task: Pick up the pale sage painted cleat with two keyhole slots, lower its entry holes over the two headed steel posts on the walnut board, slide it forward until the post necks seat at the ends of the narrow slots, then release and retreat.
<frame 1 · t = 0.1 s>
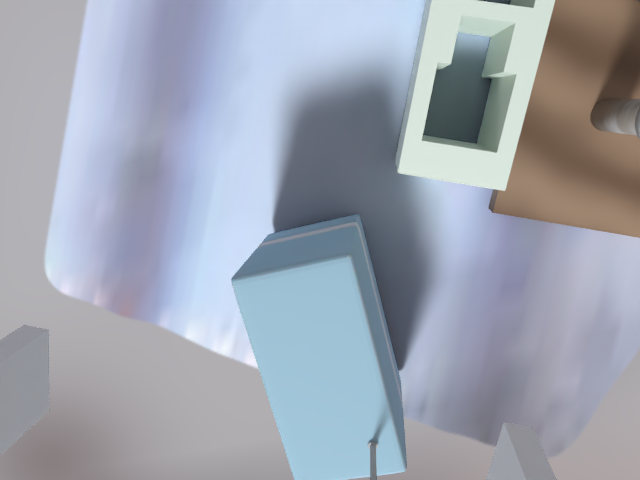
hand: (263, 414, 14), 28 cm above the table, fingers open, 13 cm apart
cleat: (470, 25, 36), on the table
board: (616, 53, 35), on the table
radio: (331, 306, 43), on the table
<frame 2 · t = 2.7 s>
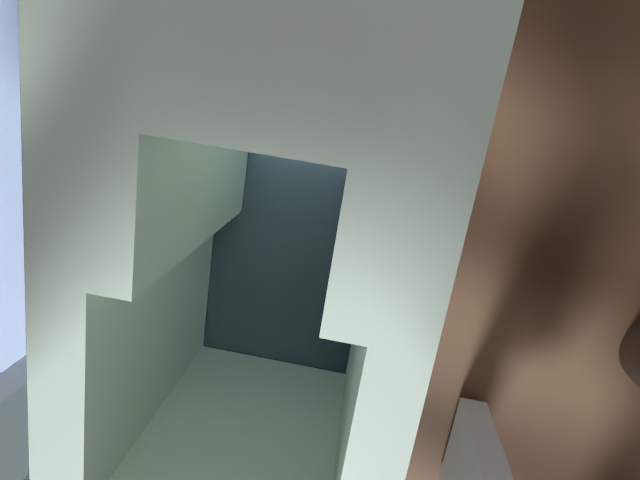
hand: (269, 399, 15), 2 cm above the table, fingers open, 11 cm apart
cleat: (272, 367, 16), on the table
board: (590, 444, 16), on the table
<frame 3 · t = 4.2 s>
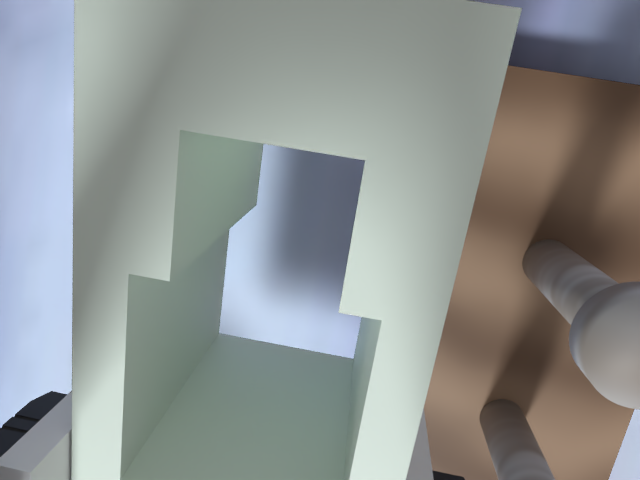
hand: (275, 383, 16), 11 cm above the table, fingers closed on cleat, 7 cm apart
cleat: (284, 353, 17), point 9 cm above the table, touching gripper
board: (515, 330, 26), on the table
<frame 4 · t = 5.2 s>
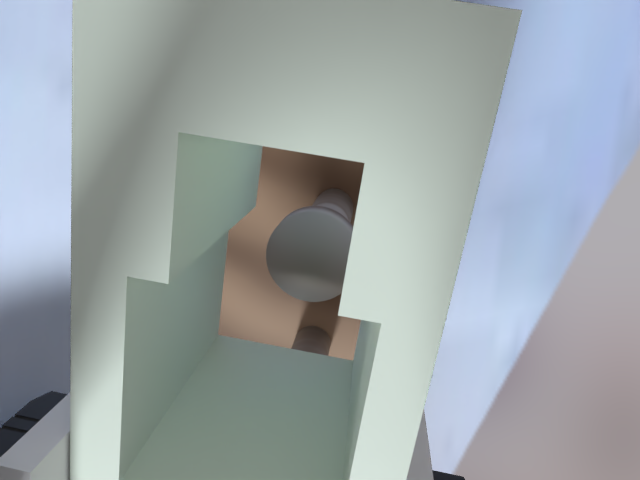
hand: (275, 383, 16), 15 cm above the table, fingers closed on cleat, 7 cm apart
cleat: (283, 355, 17), point 13 cm above the table, touching gripper
board: (325, 269, 30), on the table
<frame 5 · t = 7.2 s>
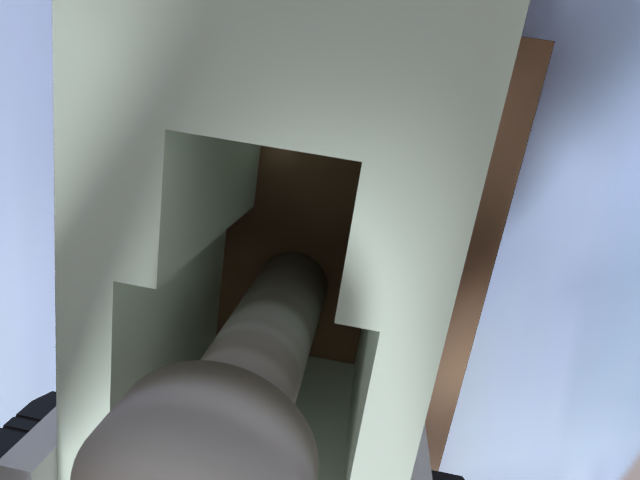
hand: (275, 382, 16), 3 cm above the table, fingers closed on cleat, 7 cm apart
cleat: (283, 358, 17), point 1 cm above the table, touching board, gripper
board: (285, 373, 19), on the table
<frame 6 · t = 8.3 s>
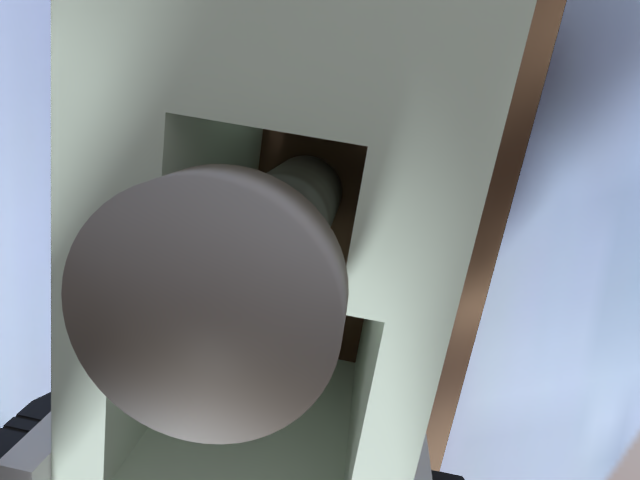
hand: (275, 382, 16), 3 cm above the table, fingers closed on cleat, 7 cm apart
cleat: (283, 356, 17), point 1 cm above the table, touching board, gripper
board: (294, 300, 18), on the table
when the fingers open (3 cm above the table, at t = 9.2 s): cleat stays where it is, resting on board.
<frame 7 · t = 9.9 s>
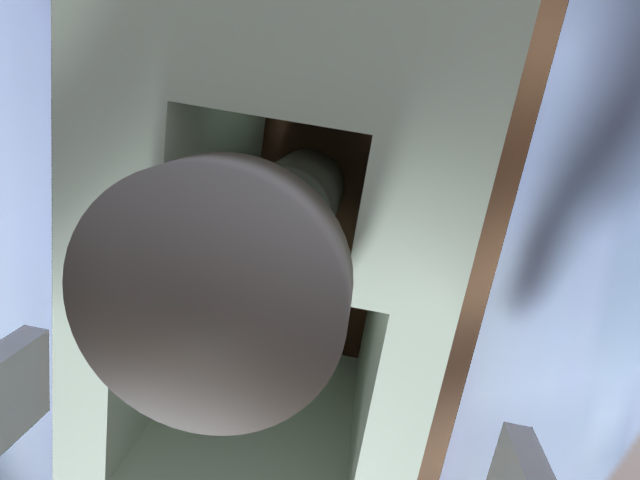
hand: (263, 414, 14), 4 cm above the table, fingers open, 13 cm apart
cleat: (285, 351, 16), point 1 cm above the table, touching board
board: (296, 296, 17), on the table
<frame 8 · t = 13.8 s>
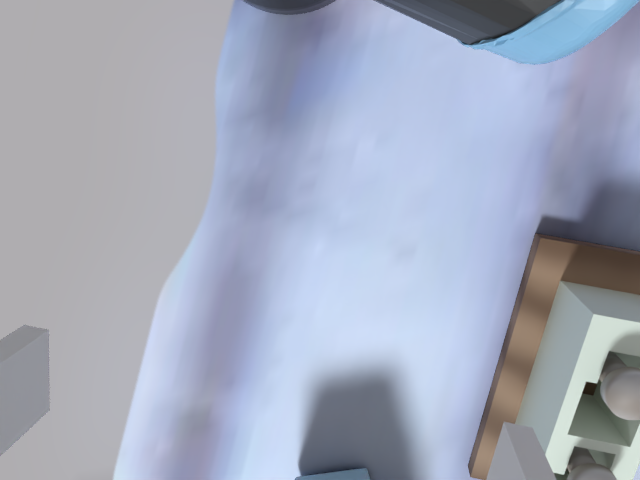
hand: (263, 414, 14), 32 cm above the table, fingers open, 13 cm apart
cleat: (565, 393, 45), point 1 cm above the table, touching board
board: (563, 371, 46), on the table
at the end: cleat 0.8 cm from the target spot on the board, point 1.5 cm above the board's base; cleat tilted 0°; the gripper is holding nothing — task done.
